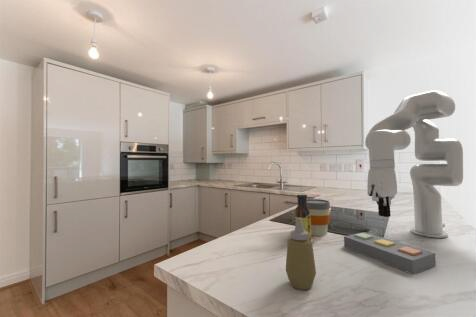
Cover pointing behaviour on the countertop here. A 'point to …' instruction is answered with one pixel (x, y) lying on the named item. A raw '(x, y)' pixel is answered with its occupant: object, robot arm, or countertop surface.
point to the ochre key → (384, 243)
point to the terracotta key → (410, 251)
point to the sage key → (363, 236)
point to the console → (391, 253)
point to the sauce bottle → (303, 213)
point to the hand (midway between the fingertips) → (384, 215)
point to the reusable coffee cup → (319, 216)
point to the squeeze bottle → (300, 258)
